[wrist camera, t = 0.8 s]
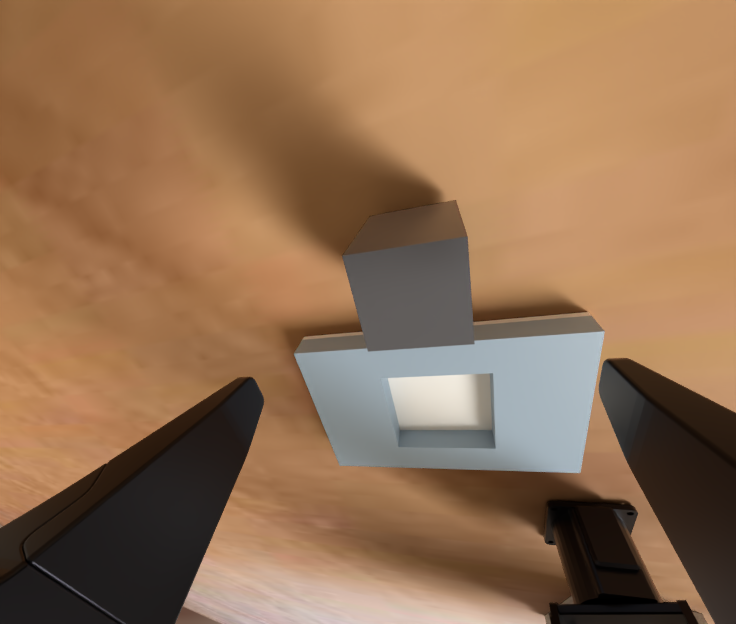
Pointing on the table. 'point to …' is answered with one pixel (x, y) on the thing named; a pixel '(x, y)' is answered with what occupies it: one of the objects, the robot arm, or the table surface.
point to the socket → (460, 396)
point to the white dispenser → (698, 616)
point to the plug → (412, 279)
